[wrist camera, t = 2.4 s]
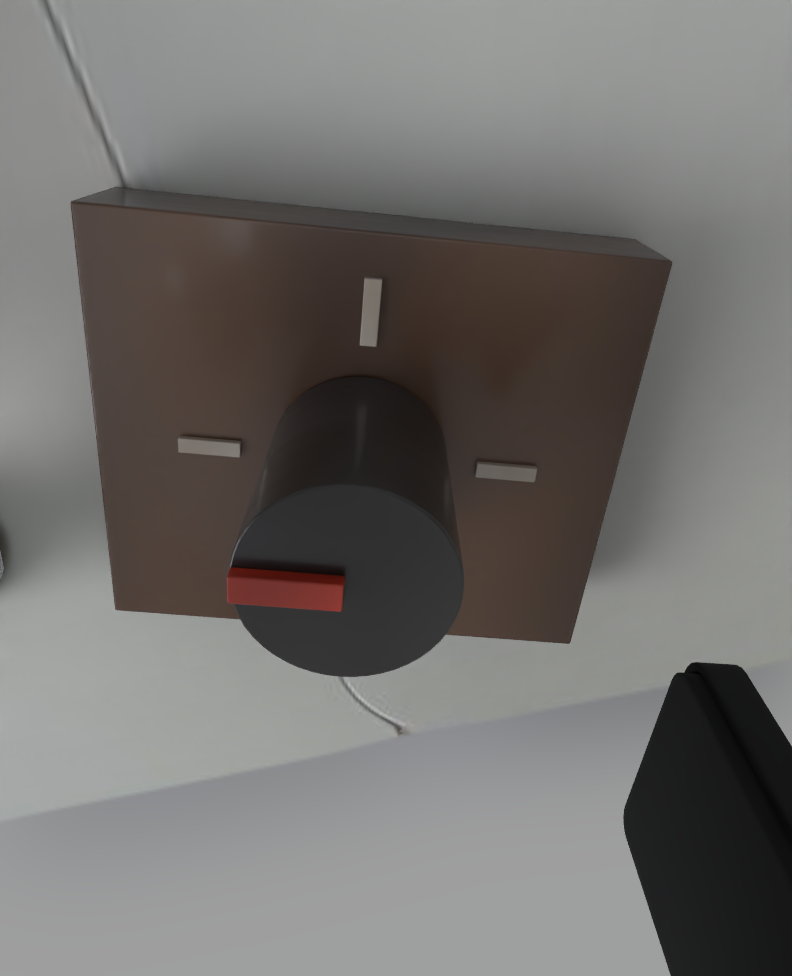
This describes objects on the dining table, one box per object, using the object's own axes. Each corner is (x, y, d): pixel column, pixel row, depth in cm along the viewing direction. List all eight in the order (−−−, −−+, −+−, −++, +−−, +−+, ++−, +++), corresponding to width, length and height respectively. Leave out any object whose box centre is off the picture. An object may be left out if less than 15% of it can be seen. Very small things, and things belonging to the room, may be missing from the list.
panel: (637, 239, 17) (676, 262, 15) (552, 588, 22) (571, 648, 19) (112, 186, 16) (65, 201, 14) (143, 556, 21) (112, 615, 19)
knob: (457, 384, 16) (483, 504, 11) (435, 539, 18) (449, 697, 13) (273, 367, 16) (221, 483, 11) (270, 525, 18) (225, 681, 13)
